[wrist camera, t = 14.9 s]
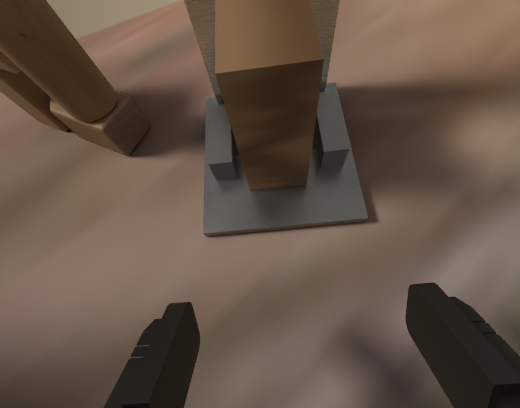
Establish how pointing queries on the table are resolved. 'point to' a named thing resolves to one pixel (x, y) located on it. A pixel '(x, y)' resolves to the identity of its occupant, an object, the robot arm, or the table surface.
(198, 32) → the grey stand
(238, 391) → the table surface
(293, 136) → the brown rectangular block
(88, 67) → the wooden rod assembly
